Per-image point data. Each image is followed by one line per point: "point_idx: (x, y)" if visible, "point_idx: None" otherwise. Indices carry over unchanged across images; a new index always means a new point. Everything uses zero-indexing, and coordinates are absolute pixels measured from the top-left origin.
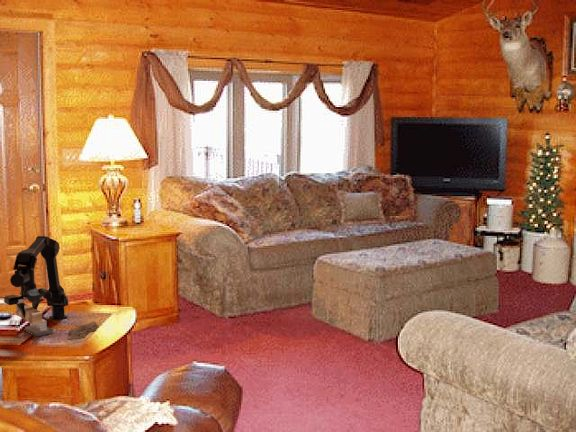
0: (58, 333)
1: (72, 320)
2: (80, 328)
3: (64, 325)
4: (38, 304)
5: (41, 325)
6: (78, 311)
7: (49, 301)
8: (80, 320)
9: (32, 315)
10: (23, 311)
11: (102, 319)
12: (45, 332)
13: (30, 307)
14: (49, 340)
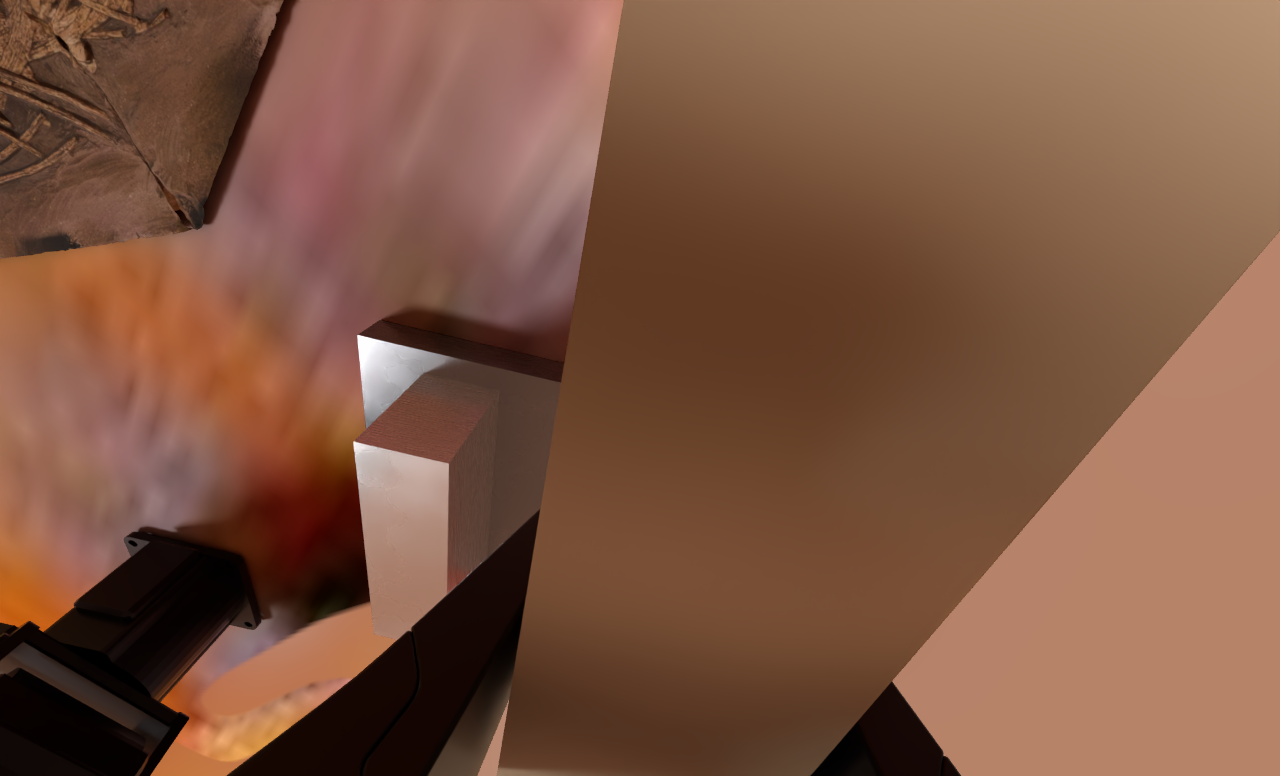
0: (337, 266)
1: (106, 458)
2: (55, 186)
3: (205, 413)
4: (265, 764)
5: (451, 427)
6: (27, 567)
7: (119, 757)
8: (32, 407)
9: None
10: (889, 716)
11: None
12: (456, 352)
13: (544, 770)
14: (534, 131)
